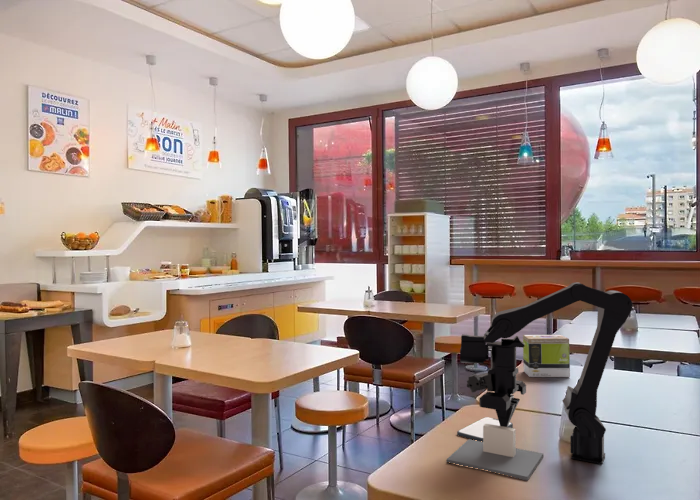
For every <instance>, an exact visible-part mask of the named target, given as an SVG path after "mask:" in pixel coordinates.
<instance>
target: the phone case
mask: <svg viewBox="0 0 700 500" xmlns="http://www.w3.org/2000/svg"><path fill="white" fill-rule="evenodd" d="M485 424H492V425H497V426H500V423H499V420H498V418H494V417H488V416H486V417H483V418H481V419H478V420H477V421H474V422H473V423H471V424H469V425H467V426H465V427H463V428H460V429H459V430H457V431H456V435H457V436H458V435H459V436H458V437H460V436H463V437H462V438H464V437H466V438H465V439H468V438H470V440H472V439H474V440H477V441H482V442H483V426H484V425H485ZM508 427H509V428H514V425H513V422H511V421H510V422H509V425H508Z"/></svg>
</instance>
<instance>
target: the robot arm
mask: <svg viewBox="0 0 700 500" xmlns="http://www.w3.org/2000/svg"><path fill="white" fill-rule="evenodd" d="M577 302H584V303H586V304H588V305H591V306H595V307H597V316H596V317H597V318H596V319H597V324H596V326H597V327H596V328H595V333H594V335H593V337H592V340H591V345H590V347H589V350H588V352H587V356H586V359H585V361H584V365H583V368H582V371H581V373H580V376H579V380H578V382H577V384H576V385H575V386H574V387H571V386H569V385H568V386H567V387H566V388H567V389H566V395H565V397H564V398H563V399H562V403H563V407H564V409H563V410H564V411H565V414H566V415H567V418H568V420H569V422H570V423H571V424H572V425H573V426H574V428H573V429H572V433H571V434H570V446H569V447H570V448H569V449H570V454H571V456H570V457H571V459H572V460H577V461H583V462H589V463H594V464H599V465H602V464H603V462H604V460H605V458H606V453H605V433H606V431H607V429H606V427H605V426H604V424H603V423H602V421H601V420H600V418H599V417H598V416H597V415H596V413H597V407H598V406H597V405H598V404H597V403H598V389H599V386H600V382H601V381H602V377H603V374H604V371H605V368H606V366H607V363H608V359H609V357H610V354H611V350H612V347H613V344H614V341H615V338H616V335H617V333H619V331H620V329H621V328H622V327H623V326H624V325H625V323H626V321H627V320H628V318H629V316H630V315H631V313H632V311H633V306H634V303H633V301H632V300H631V298H630V296H628V295H627V294H625V293H623V292H621V291H618V290H613V289H612V290H607V291H603V290H600V289H596V288H594V287H590V286H587V285H585V284H583V283H581V282H572V283H570V284H569V285H568V286H566V287H563V288H561V289H559V290H557V291H555V292H553V293H550V294H548V295H545V296H544V297H541V298H539V299H536V300H535V301H532V302H531V303H528V304H526V305H522V306H518V307H513V308H509V309H505V310H500V311H498V312H496V313H494V315H493V316H492V319H491V325H490V326H489V328H488V329H487V330H486V331H485V333H484V334H483V335H470V334H465V333H464V334H461V335H460V336H461V337H460V339H461V341H460V350H459V360H460V361H459V362H460V364H461V363H463V364H480V365H481V364H483V365H484V364H485V362H487V361H489V349H490V348H489V347H491V349H490V350H491V368H489V369H488V370H487V373H482V374H477V373H475V374H473V375H469V376H468V379H467V380H466V387H467V388H469V389H470V392H471V393H472V394H473V393H476V392H477V391H483V390H485V389H486V391H487V392H485V393H484V394H482V395H481V396H480V397H479V398H478V399H479V401H478V402H479V407H480V408H483V409H490V410H494V411H495V413H496V416H497V419H498V420H499V423H500V426H503V427H508V425H509V422H511V420H512V417H513V415H514V413H515V411H516V408H517V407H518V405H519V403H520V398H516V397H515V395H514V394H515V393H516V392H519V393H520V395H523V396H524V395H526V393H527V384H526V383H525V382H524V381H523V380H518V379H517V374H518V373H519V368H518V367H517V348H523V347H524V346H525V345H524V343H523V340H521V339H520V338H519V336H518V335H516V334H517V333H519V332H520V331H521V330H523V329H525V327H527V326H528V325H529V324H531V323H532V322H533V321H536V320H538V319H540V318H543V317H546V316H547V315H549V314H553V313H554V312H557V311H559V310H561V309H564V308H565V307H567V306H570V305H571V304H575V303H577ZM515 335H516V336H515ZM513 336H515V337H513ZM511 337H513V338H511ZM499 339H500V340H501V341H498V340H499Z"/></svg>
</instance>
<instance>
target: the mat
mask: <svg viewBox="0 0 700 500" xmlns="http://www.w3.org/2000/svg"><path fill="white" fill-rule="evenodd" d="M543 458H544V452H538V451H532V450H527V449H522V448H518V447H517V448H516V455H515V456H514V457H509V456H504V455H499V454H494V453H489V452H484V451H483V442H481V441H475V440H472V439H468V438H467V440H466V441H465V442H464V443H463V444H461V446H459V447H458V448H457V450H455V451H454V452H453V453H451V455H449V456H448V457H447V458H446V459H445V461H446V462H450V463H455V464H459V465H463V466H468V467H473V468H478V469H484V470H488V471H491V472H496V473H500V474H504V475H508V476H507V477H509V476H512V477H511V478H513V477H515V478H514V479H518V478H519V480H523V481H529V479H530V478H531V476H532V475H533V474H534V472H535V470H536V468H537V467H538V465H540V463H541V461H542V460H543ZM463 466H462V467H463ZM504 475H503V476H504Z"/></svg>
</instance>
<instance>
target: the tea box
mask: <svg viewBox="0 0 700 500" xmlns="http://www.w3.org/2000/svg"><path fill="white" fill-rule="evenodd" d="M522 342H523V343H524V345H525V346H524V347H522V348H523V349H522V352H523V353H522V355H523V356H522V359H523V361H522V362H523V372H524V374H526V375H527V376H528V377H529V378H570V377H571V365H570V364H571V363H570V361H571V360H570V357H571V356H570V353H571V352H570V339H569V338H568V337H565V336H564V335H563V334H523V335H522Z"/></svg>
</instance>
